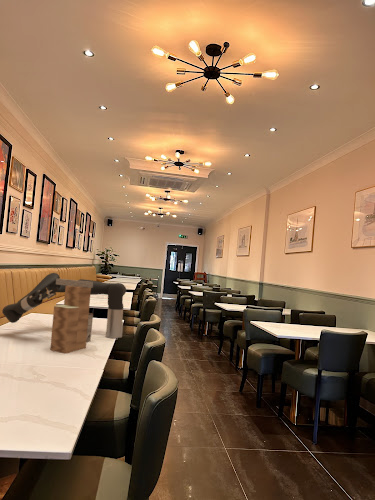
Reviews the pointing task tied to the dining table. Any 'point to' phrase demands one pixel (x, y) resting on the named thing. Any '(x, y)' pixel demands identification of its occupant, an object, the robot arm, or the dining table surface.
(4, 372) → the dining table surface
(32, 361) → the dining table surface
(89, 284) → the bar
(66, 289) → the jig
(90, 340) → the coffee box
